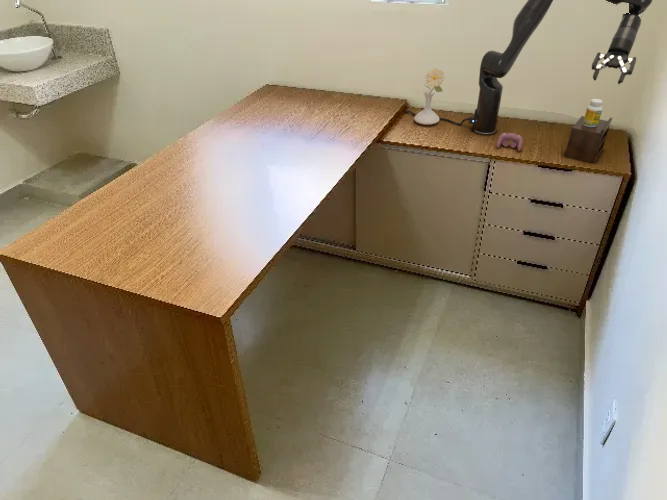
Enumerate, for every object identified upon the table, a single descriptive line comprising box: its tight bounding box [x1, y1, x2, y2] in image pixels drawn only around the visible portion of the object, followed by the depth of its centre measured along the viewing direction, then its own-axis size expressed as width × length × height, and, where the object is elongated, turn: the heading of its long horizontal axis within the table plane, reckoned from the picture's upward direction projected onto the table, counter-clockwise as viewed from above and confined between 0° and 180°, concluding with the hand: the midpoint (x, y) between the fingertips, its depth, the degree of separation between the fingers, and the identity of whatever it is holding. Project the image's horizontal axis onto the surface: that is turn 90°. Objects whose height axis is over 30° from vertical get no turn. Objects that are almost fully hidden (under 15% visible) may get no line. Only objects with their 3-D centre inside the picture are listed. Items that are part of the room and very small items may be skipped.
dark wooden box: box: [564, 115, 613, 164], centre depth 198 cm, size 11×14×14 cm
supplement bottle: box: [583, 98, 604, 127], centre depth 192 cm, size 5×5×10 cm
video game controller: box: [496, 132, 524, 153], centre depth 206 cm, size 10×5×7 cm, turn 65°
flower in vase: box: [413, 67, 446, 126], centre depth 223 cm, size 13×11×25 cm
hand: (606, 81), depth 192 cm, fingers open, 8 cm apart
